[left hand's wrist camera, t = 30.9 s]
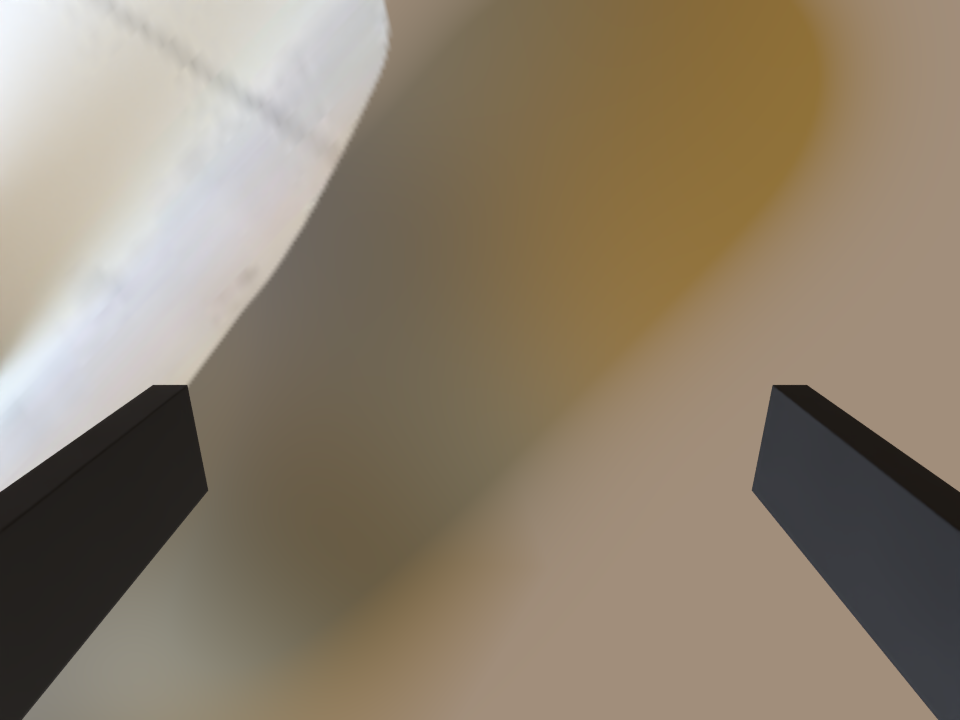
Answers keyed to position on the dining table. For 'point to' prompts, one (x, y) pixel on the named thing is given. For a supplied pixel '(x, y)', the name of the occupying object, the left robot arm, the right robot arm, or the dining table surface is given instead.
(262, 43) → the dining table surface
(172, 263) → the dining table surface
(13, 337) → the dining table surface
